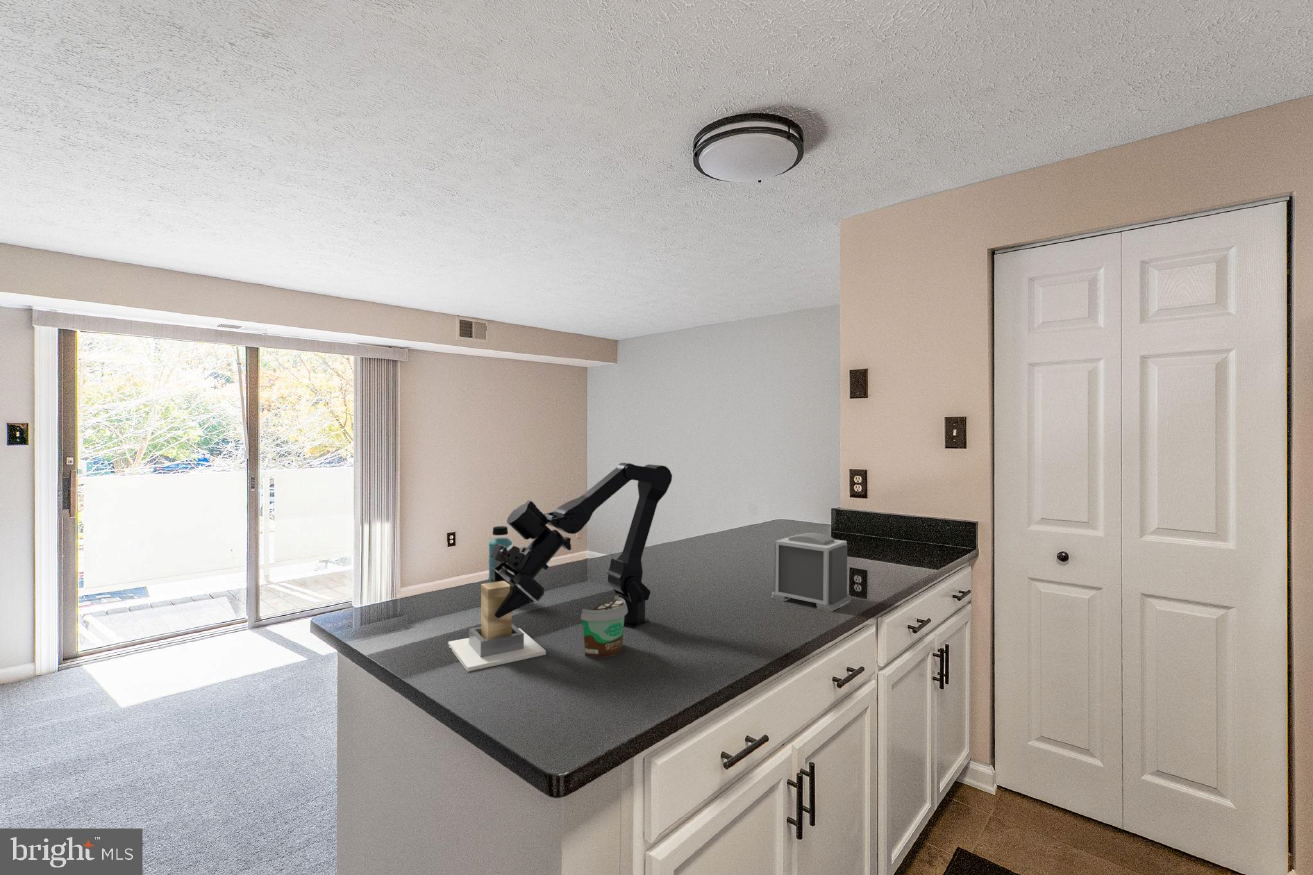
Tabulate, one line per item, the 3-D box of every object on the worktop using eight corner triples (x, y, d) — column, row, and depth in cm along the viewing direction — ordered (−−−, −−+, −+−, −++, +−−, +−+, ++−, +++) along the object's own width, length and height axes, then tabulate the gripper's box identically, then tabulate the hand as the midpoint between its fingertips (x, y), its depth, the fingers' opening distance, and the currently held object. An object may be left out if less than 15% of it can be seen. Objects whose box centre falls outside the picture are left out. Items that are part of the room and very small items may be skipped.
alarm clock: (852, 601, 158) (852, 535, 158) (832, 612, 148) (833, 542, 148) (791, 589, 170) (792, 527, 170) (769, 598, 160) (770, 533, 160)
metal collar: (509, 635, 128) (509, 621, 127) (523, 648, 120) (523, 633, 120) (468, 643, 123) (468, 628, 123) (480, 657, 115) (480, 641, 115)
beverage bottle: (517, 596, 161) (517, 525, 161) (501, 602, 155) (501, 529, 155) (499, 593, 164) (499, 523, 163) (482, 599, 158) (483, 527, 157)
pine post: (504, 640, 125) (504, 580, 125) (511, 647, 121) (511, 586, 120) (481, 644, 122) (481, 584, 122) (487, 652, 118) (488, 589, 118)
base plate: (519, 631, 132) (519, 628, 132) (545, 654, 119) (545, 650, 119) (448, 645, 124) (448, 641, 124) (467, 671, 110) (467, 667, 110)
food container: (604, 664, 114) (604, 614, 114) (580, 658, 117) (580, 609, 117) (638, 645, 124) (639, 599, 124) (615, 639, 128) (616, 595, 128)
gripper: (500, 523, 131) (451, 577, 125) (529, 536, 115) (474, 599, 109) (533, 553, 135) (486, 607, 130) (565, 570, 120) (514, 632, 114)
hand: (489, 610), depth 120 cm, fingers open, 9 cm apart
